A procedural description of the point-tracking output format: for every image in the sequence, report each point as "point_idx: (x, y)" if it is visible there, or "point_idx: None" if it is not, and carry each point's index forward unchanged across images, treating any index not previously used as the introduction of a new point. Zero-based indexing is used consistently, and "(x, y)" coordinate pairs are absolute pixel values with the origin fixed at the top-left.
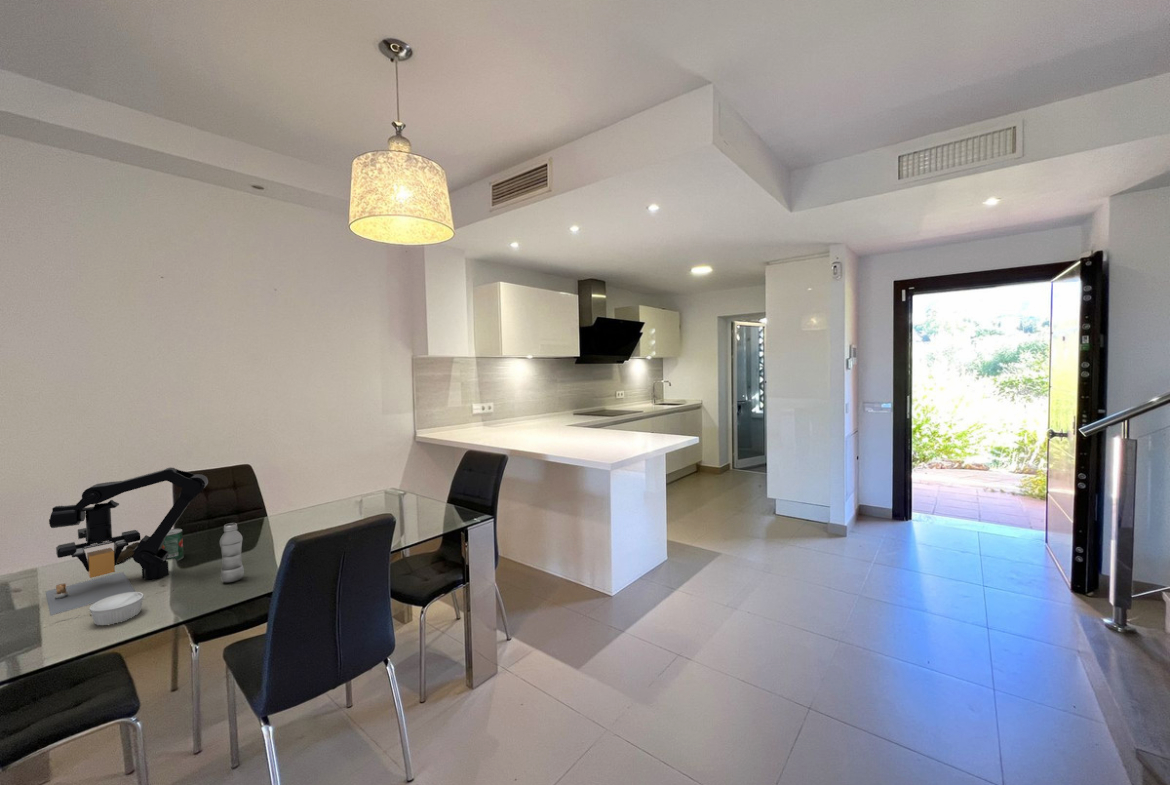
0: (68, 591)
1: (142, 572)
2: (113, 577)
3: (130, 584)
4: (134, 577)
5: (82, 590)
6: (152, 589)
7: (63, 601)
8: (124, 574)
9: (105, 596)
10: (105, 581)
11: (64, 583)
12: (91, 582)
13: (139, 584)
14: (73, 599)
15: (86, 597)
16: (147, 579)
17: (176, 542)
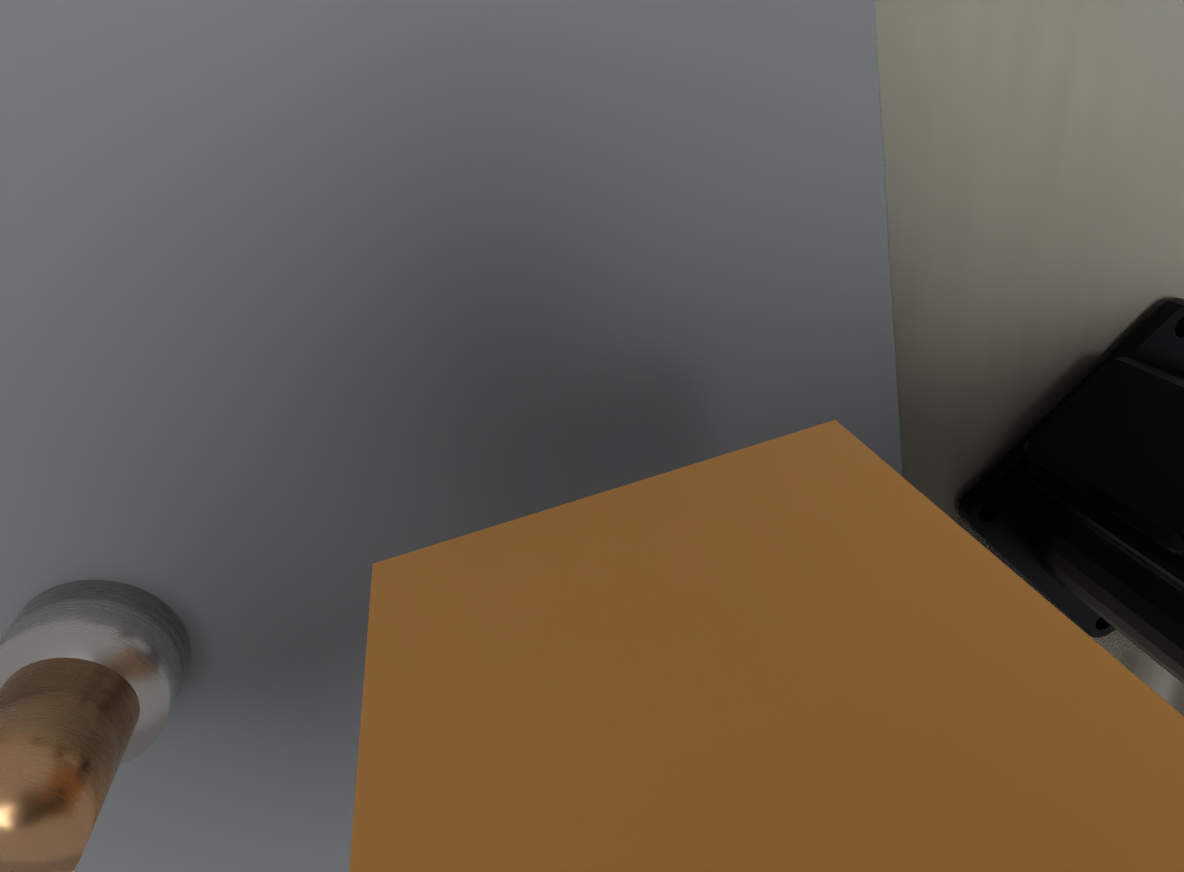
0: (86, 427)
1: (1127, 523)
2: (701, 89)
3: None
4: (948, 83)
5: (332, 518)
6: None
7: (224, 816)
8: (868, 28)
9: None
10: (596, 255)
11: (35, 796)
12: (350, 123)
13: (960, 490)
14: (335, 806)
15: None
16: (1082, 601)
17: None
